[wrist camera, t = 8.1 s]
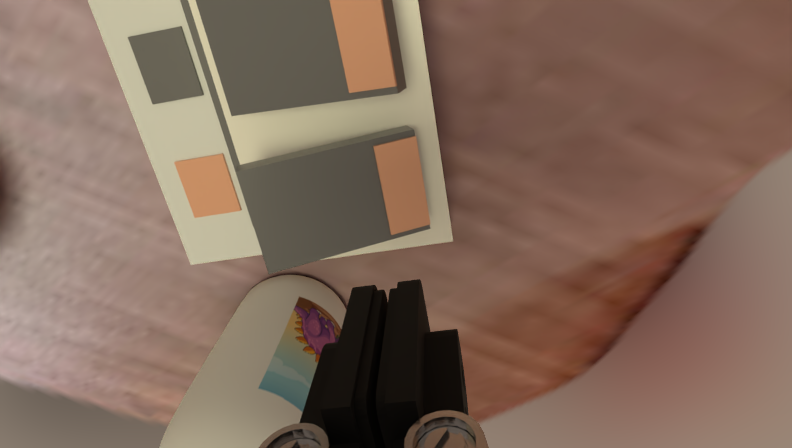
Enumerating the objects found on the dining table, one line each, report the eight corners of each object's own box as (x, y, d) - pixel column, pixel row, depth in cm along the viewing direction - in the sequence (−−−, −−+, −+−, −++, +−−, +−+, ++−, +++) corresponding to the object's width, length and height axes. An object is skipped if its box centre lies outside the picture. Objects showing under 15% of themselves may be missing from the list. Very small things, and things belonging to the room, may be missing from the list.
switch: (406, 125, 23) (414, 129, 22) (422, 220, 25) (431, 229, 24) (237, 165, 22) (235, 172, 20) (268, 263, 23) (268, 275, 22)
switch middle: (384, -48, 18) (372, -50, 17) (406, 87, 20) (397, 94, 19) (212, -5, 21) (191, -5, 20) (246, 110, 23) (229, 116, 22)
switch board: (377, -279, 21) (363, -369, 16) (450, 222, 30) (456, 263, 25) (25, -186, 23) (-84, -240, 18) (196, 258, 32) (155, 303, 27)
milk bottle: (249, 362, 35) (68, 734, 17) (234, 269, 32) (-7, 604, 14) (354, 364, 35) (282, 747, 17) (348, 271, 32) (254, 616, 14)
